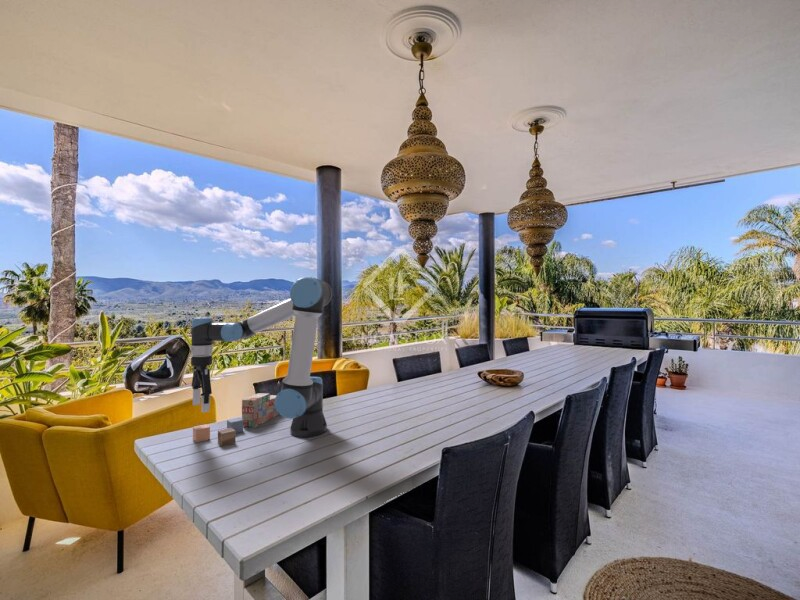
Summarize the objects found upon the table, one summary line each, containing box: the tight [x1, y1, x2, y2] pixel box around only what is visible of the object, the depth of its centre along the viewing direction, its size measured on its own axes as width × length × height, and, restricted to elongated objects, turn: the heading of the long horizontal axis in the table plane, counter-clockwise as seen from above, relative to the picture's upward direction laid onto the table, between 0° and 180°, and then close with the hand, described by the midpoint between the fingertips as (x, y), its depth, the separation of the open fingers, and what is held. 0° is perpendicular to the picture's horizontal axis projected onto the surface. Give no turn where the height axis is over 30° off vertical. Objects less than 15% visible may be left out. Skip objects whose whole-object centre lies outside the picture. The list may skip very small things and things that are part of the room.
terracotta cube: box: [192, 423, 211, 443], centre depth 145 cm, size 5×5×5 cm
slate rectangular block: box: [226, 417, 244, 434], centre depth 154 cm, size 5×5×5 cm
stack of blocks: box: [241, 392, 280, 428], centre depth 170 cm, size 21×6×12 cm, turn 167°
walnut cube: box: [217, 427, 237, 447], centre depth 140 cm, size 5×5×5 cm
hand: (200, 408), depth 145 cm, fingers open, 13 cm apart
